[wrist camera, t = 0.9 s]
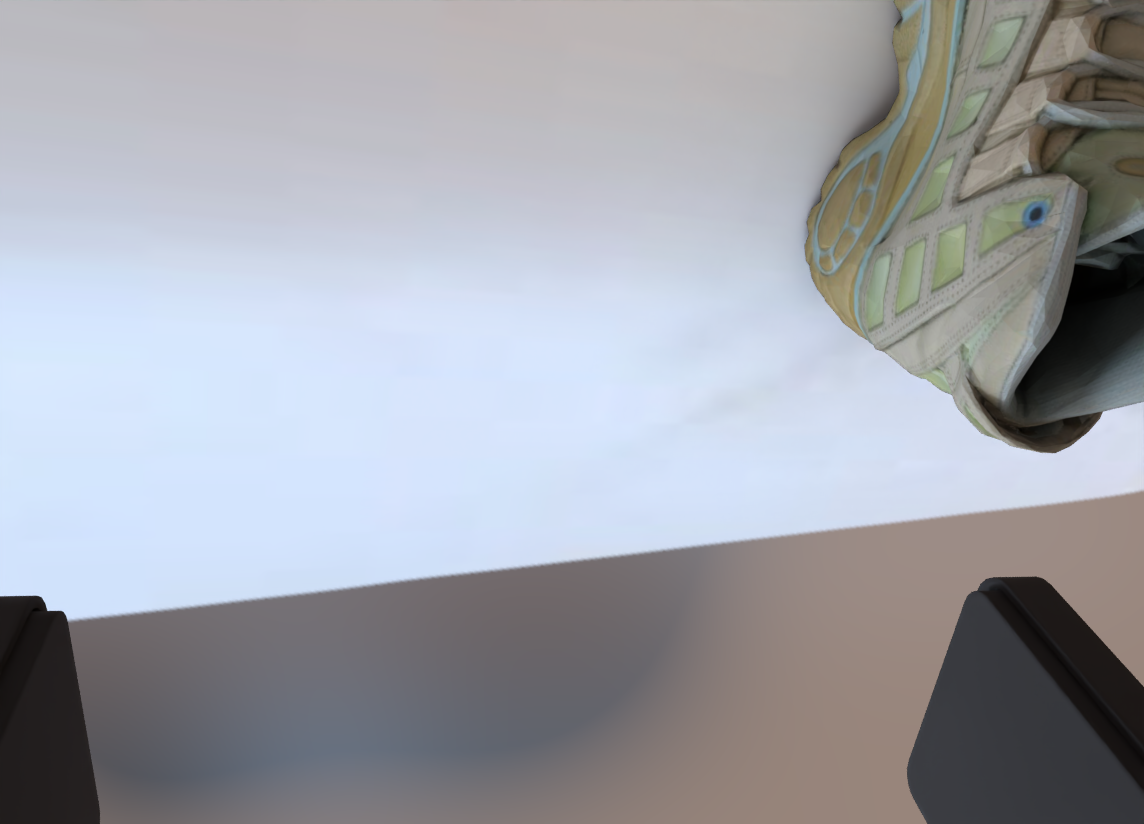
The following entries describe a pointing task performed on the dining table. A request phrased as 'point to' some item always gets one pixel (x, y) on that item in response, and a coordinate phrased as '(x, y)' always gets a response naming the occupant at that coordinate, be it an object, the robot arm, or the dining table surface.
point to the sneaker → (1001, 214)
